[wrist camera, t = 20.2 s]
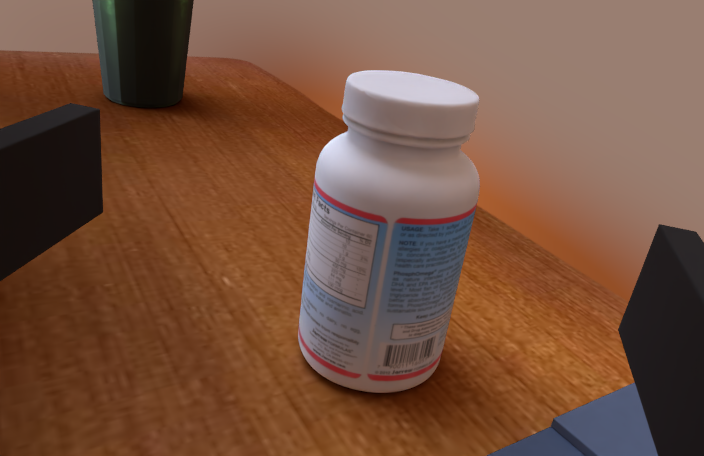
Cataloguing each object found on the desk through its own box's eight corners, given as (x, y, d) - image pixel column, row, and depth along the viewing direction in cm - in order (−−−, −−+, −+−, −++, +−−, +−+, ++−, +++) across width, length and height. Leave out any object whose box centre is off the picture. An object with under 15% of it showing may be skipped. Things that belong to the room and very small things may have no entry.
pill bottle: (431, 320, 29) (487, 79, 25) (444, 409, 24) (519, 122, 19) (302, 302, 29) (333, 56, 24) (284, 388, 24) (320, 92, 19)
